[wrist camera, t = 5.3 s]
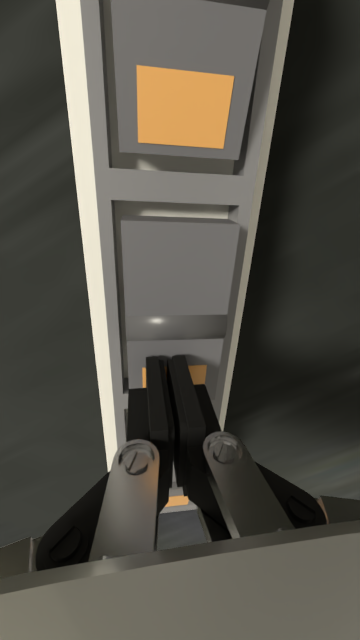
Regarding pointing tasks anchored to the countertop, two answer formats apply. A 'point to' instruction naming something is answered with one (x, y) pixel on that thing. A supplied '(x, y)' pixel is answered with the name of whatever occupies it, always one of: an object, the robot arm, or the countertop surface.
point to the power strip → (155, 191)
